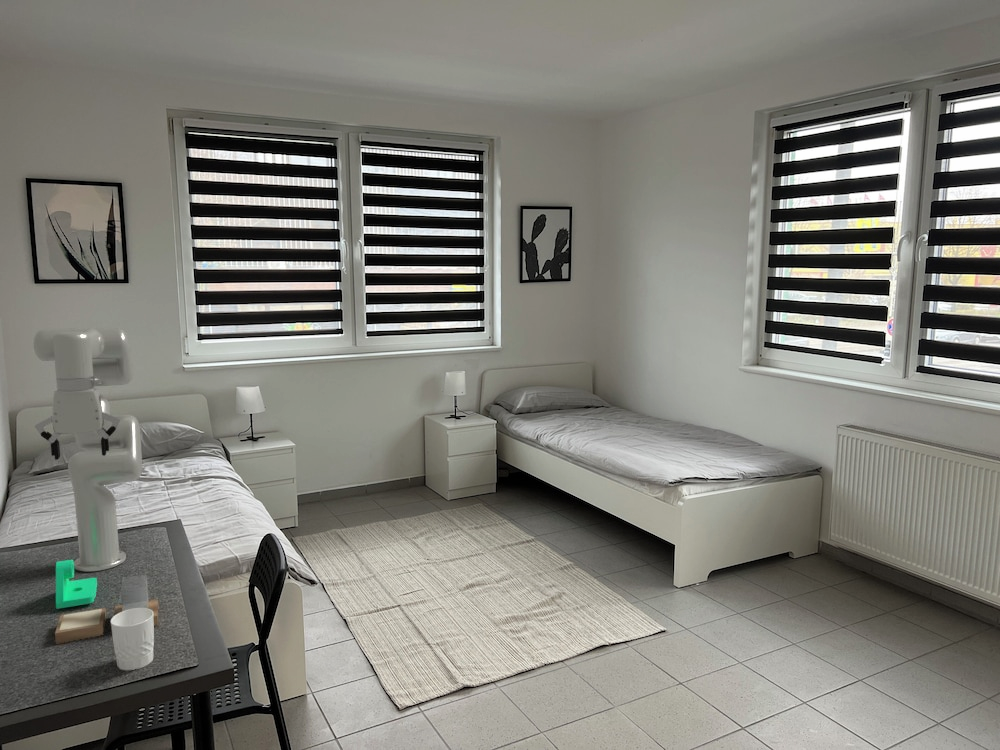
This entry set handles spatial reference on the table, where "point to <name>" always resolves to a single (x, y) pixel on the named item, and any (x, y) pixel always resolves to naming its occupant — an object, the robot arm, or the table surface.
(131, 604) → the block
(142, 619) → the white cup
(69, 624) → the stand
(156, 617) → the stand
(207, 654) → the table surface
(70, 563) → the camera mount
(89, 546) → the robot arm
